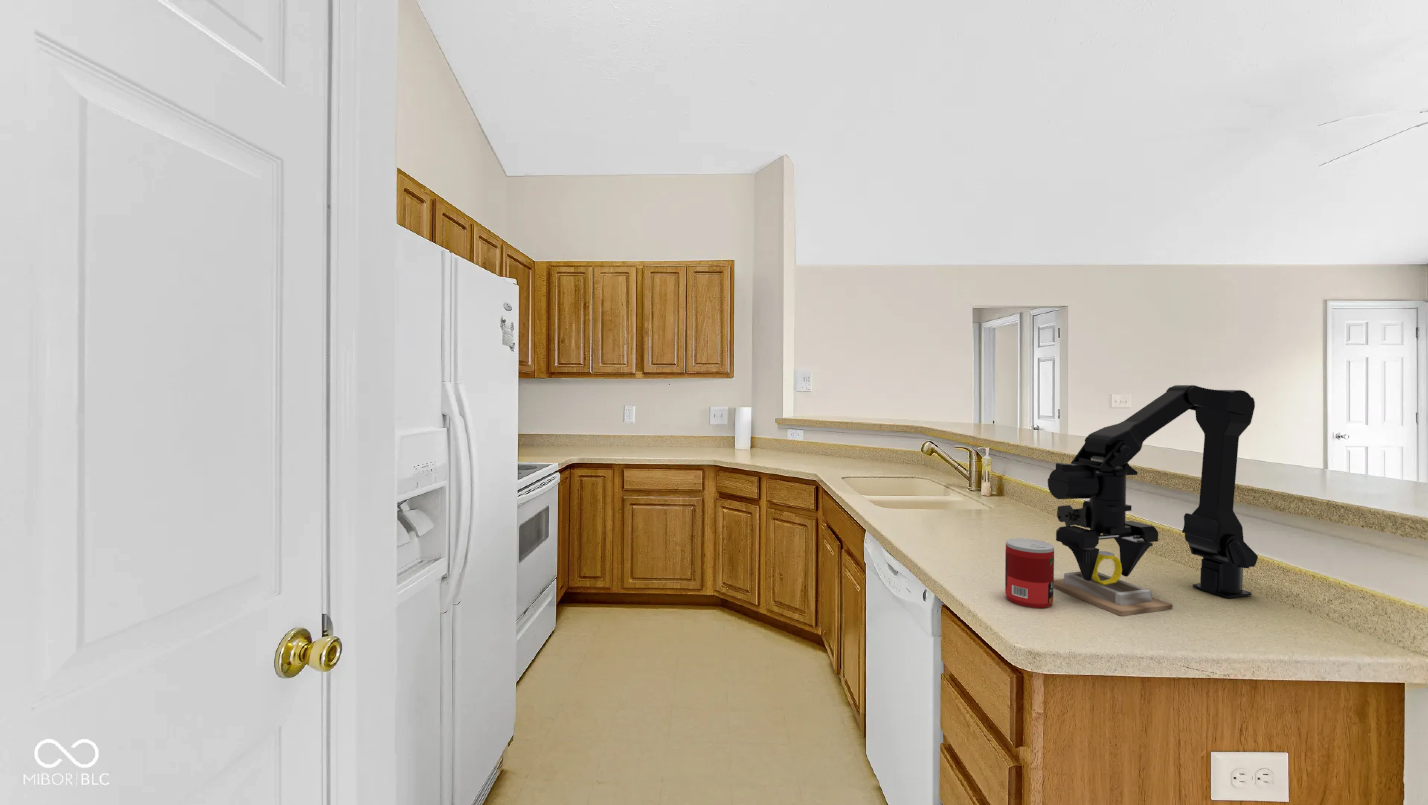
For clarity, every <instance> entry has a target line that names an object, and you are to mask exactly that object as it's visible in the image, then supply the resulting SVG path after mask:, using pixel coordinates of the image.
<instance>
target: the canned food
mask: <svg viewBox="0 0 1428 805" xmlns="http://www.w3.org/2000/svg"><path fill="white" fill-rule="evenodd" d="M1004 551H1005V560H1004V562H1005V568H1004V572H1005V574H1004V576H1005V577H1004V582H1005V583H1004V585H1005V586H1004V593H1005V597H1006V599H1007V600H1008V601H1010V602H1011V603H1013V604H1015V605H1019V606H1022V607H1027V608H1032V609H1046V608H1049V607H1051V606H1052V605H1053V603H1054V590H1055V588H1054V580H1055V578H1054V577H1055V546H1054V545H1053V544H1052V543H1050V542H1046V541H1044V540H1039V539H1034V538H1024V537H1016V538H1013V537H1012V538H1008V539H1006V541H1005V550H1004Z"/></svg>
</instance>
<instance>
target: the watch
mask: <svg viewBox="0 0 1428 805" xmlns="http://www.w3.org/2000/svg"><path fill="white" fill-rule="evenodd" d="M1103 560H1112V561H1113V565H1114V570H1113V574H1112V575H1111V578H1110V579H1108V580H1104V581H1100V579H1099V577H1098V572H1099V567H1100V564H1101V562H1103ZM1121 573H1122V565H1121V562H1120V558H1119V557H1118V556H1116V555H1115V553H1113V552H1111V551H1103V550H1101V551H1100V550H1099V553H1098V557H1097V560H1096V564H1095V568H1094V571H1093V575H1092V578H1093V579H1094V581H1096V582H1097V583H1099V584H1101V585H1107V584H1112V583H1116V582H1117V581H1118V580H1120V579H1121V576H1122V574H1121Z"/></svg>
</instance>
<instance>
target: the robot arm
mask: <svg viewBox="0 0 1428 805" xmlns="http://www.w3.org/2000/svg"><path fill="white" fill-rule="evenodd" d="M1255 407H1256V402H1255V398H1254V397H1253V396H1251V394H1249V393H1248V392H1247V391H1245V390H1241V389H1213V388H1212V389H1211V388H1207V387H1202V386H1199V385H1197V384H1196V385H1195V384H1191V385H1189V384H1183V385H1181V384H1175V385H1173V386H1170V387H1168V388H1167V389H1166V391H1165V392H1164V393H1163V394H1161V395H1160V396H1158V397H1157V398H1155V399H1154V400H1152V401H1151V402H1149V403H1148V404H1146V405H1145V406H1144V407H1142V408H1141V409H1139V410H1138V411H1137V412H1135V413H1133V414H1132V415H1131V416H1129V417H1127V418H1126V419H1124V420H1123V421H1121V422H1119V423H1116V424H1111V425H1108V426H1104V427H1102V428H1099V429H1098V430H1097V429H1096V431H1094V432H1090V433H1089V434H1088V435H1087V436H1086V437H1085V439H1084V444H1083V445H1082V446H1081V448H1080V449H1079V451H1078V452H1077V454H1076V455H1075V456H1074V457H1073V459H1072V461H1071V462H1070V463H1063V462H1056V464H1055V469H1053V470H1052V471H1051V472H1050V473H1049V476H1048V478H1047V487H1048V490H1049V492H1050V494H1051V495H1052V496H1053V498H1055V499H1057V500H1076V499H1077V500H1079V499H1080V500H1082V499H1085V500H1084V501H1083V502H1082V507H1081V508H1073V507H1072V505H1070V504H1067V505H1059V506H1057V509H1056V510H1057V511H1056V516H1057V520H1058V521H1059V522H1060V523H1064V525H1065V526H1063V525H1062V526H1059V527H1058V528H1057V529H1056V530H1055V533H1056V534H1055V535H1056V536H1055V540H1056V541H1055V542H1059V543H1061V544H1062V546H1065V547H1067V548H1068V549H1069V550H1071V552H1072V553H1073V556H1074V558H1075V559H1076V562H1077V565H1078V568H1079V572H1080V571H1081V573H1082V576H1083V579H1084V580H1086V581H1090V580H1091V577H1092V575H1093V571H1094V568H1095V564H1096V560H1097V557H1098V553H1099V551H1100V549H1099V548H1097V546H1098V545H1099V543H1100V540H1108V539H1109V540H1110V539H1114V541H1115V542H1116V543H1117V545H1118V547H1119V560H1120V562H1121V565H1122V573H1121V576H1123V577H1126V578H1127V577H1129V576H1130V575H1131V573H1132V571H1133V570H1134V569H1135V567H1136V566H1137V564H1138V563H1139V561H1140V559H1141V558H1142V557H1143V556H1144V554H1145V553H1146V552H1147V550H1149V548H1150V547H1153V545H1154V543H1156V542H1157V543H1158V542H1159V531H1158V530H1157V528H1156V527H1155V526H1154V525H1152V524H1151V525H1150V524H1147V523H1142V522H1138V521H1134V520H1126V519H1127V518H1126V515H1127V514H1126V512H1132V505H1131V504H1127V476H1137V475H1139V474H1138V471H1137V470H1136V469H1135V468H1133V467H1132V466H1131V465H1130V463H1129V462H1130V461H1132V459H1133V458H1134V457H1135V456H1136V455H1137V454H1138V453H1139V452H1141V450H1142V448H1143V444H1144V442H1145V441H1146V440H1147V439H1148V438H1149V437H1151V436H1152V435H1153V434H1155V433H1157V432H1158V431H1160V430H1161V429H1162V428H1164V427H1165V426H1167V425H1168V424H1170V423H1172V421H1175V420H1176V419H1177V418H1179V417H1180V416H1181V415H1183V414H1184V413H1186V412H1187V411H1188V410H1190V411H1194V412H1195V421H1196V422H1197V424H1198V426H1199V427H1200V429H1201V430H1202V432H1203V434H1204V438H1203V439H1204V440H1203V450H1202V451H1203V452H1202V453H1203V454H1202V463H1201V478H1200V492H1199V500H1198V501H1199V503H1198V506H1197V507H1196V508H1195V510H1193V512H1192V513H1187V512H1185V514H1184V516H1183V528H1182V530H1181V533H1182V534H1184V539H1185V542H1187V545H1188V546H1189V550H1190V553H1191V555H1194V556H1198V557H1201V562H1200V563H1201V567H1200V575H1199V576H1200V577H1199V578H1200V580H1199V581H1200V582H1199V583H1193V584H1192V587H1193V588H1195V589H1197V590H1201V591H1204V592H1207V593H1210V594H1214V595H1216V596H1220V597H1223V598H1226V599H1232V598H1240V597H1246V596H1247V597H1248V596H1252V592H1251V591H1249V590H1245V589H1243V583H1244V582H1243V580H1244V577H1243V576H1244V573H1243V572H1244V569H1250V568H1255V566H1256V565H1257V561H1258V559H1259V555H1257V553H1256V552H1255V551H1254V550H1253V549H1252V548H1251V547H1250V546H1249V545H1248V544H1247V543H1246V542H1245V540H1244V530H1243V525H1242V523H1241V522H1240V520H1239V519H1238V517H1237V515H1236V513H1235V511H1234V502H1235V501H1234V500H1235V492H1236V490H1235V488H1236V478H1237V467H1238V466H1237V464H1238V454H1239V453H1238V452H1239V443H1240V442H1239V441H1240V436H1241V435H1242V434H1243V433H1244V432H1245V431H1246V429H1247V428H1248V427H1249V426H1250V425H1251V424H1252V421H1253V418H1254V417H1253V416H1254V412H1255ZM1086 499H1089V500H1086ZM1153 542H1154V543H1153Z"/></svg>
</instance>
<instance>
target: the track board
mask: <svg viewBox="0 0 1428 805" xmlns="http://www.w3.org/2000/svg"><path fill="white" fill-rule="evenodd" d="M1063 574H1064V575H1063V578H1060V579H1059V578H1058V579H1054V590H1055V589H1056V590H1058V591H1060V592H1063V593H1065V594H1066V595H1069V596H1071V597H1072V596H1073V597H1075V598H1077V599H1080V600H1082V601H1084V602H1086V603H1089V604H1091V605H1094V606H1096V607H1098V608H1100V609H1103V610H1105V611H1107V612H1110V613H1112V614H1114V615H1117V616H1119V617H1123V616H1124V617H1125V616H1131V615H1138V614H1146V613H1153V612H1159V611H1168V610H1169V611H1170V610H1173V604H1171V603H1170V602H1166V601H1164V600H1161V599H1158V598H1155V597H1152V593H1153V592H1152V590H1149V589H1147V588H1143V587H1141V586H1138V585H1135V584H1133V583H1130V582H1127V581H1124V580H1121V579H1119V580H1118V581H1117V582H1116V583H1112V584H1107V585H1101V584H1099V583H1097V582H1096V581H1094V579H1093V578H1092V577H1091V580H1090V581H1086V580H1084V579H1083V576H1082V573H1081V571H1080V570H1079V571H1074V572H1073V571H1072V572H1064V573H1063ZM1098 577H1099V579H1100V581H1104V580H1108V579H1110V578H1111V577H1112V575H1111V576H1110V575H1108V574H1105V573H1103V572H1102V573H1101V572H1099V571H1098Z"/></svg>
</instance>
